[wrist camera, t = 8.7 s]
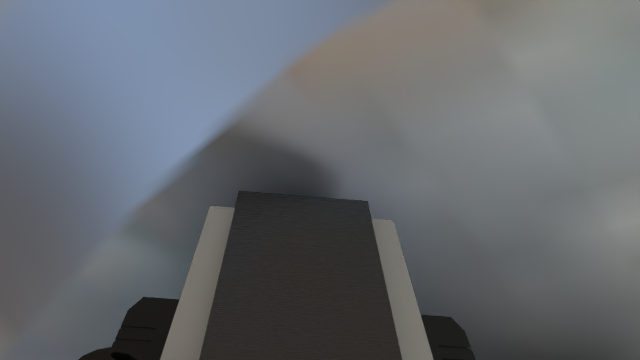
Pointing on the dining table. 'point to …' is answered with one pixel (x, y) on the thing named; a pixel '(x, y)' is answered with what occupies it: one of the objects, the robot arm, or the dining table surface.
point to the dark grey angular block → (300, 284)
